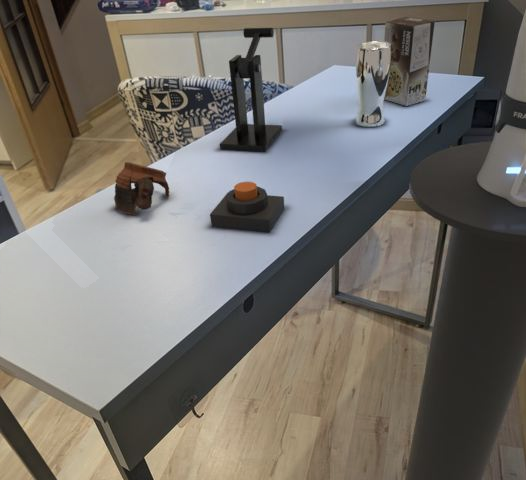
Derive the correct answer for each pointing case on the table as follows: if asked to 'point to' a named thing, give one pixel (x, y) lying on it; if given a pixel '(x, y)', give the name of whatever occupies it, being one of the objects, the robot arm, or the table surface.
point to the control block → (248, 212)
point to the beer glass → (372, 81)
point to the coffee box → (409, 59)
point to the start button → (245, 191)
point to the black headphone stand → (244, 133)
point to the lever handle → (252, 47)
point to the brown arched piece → (137, 187)
